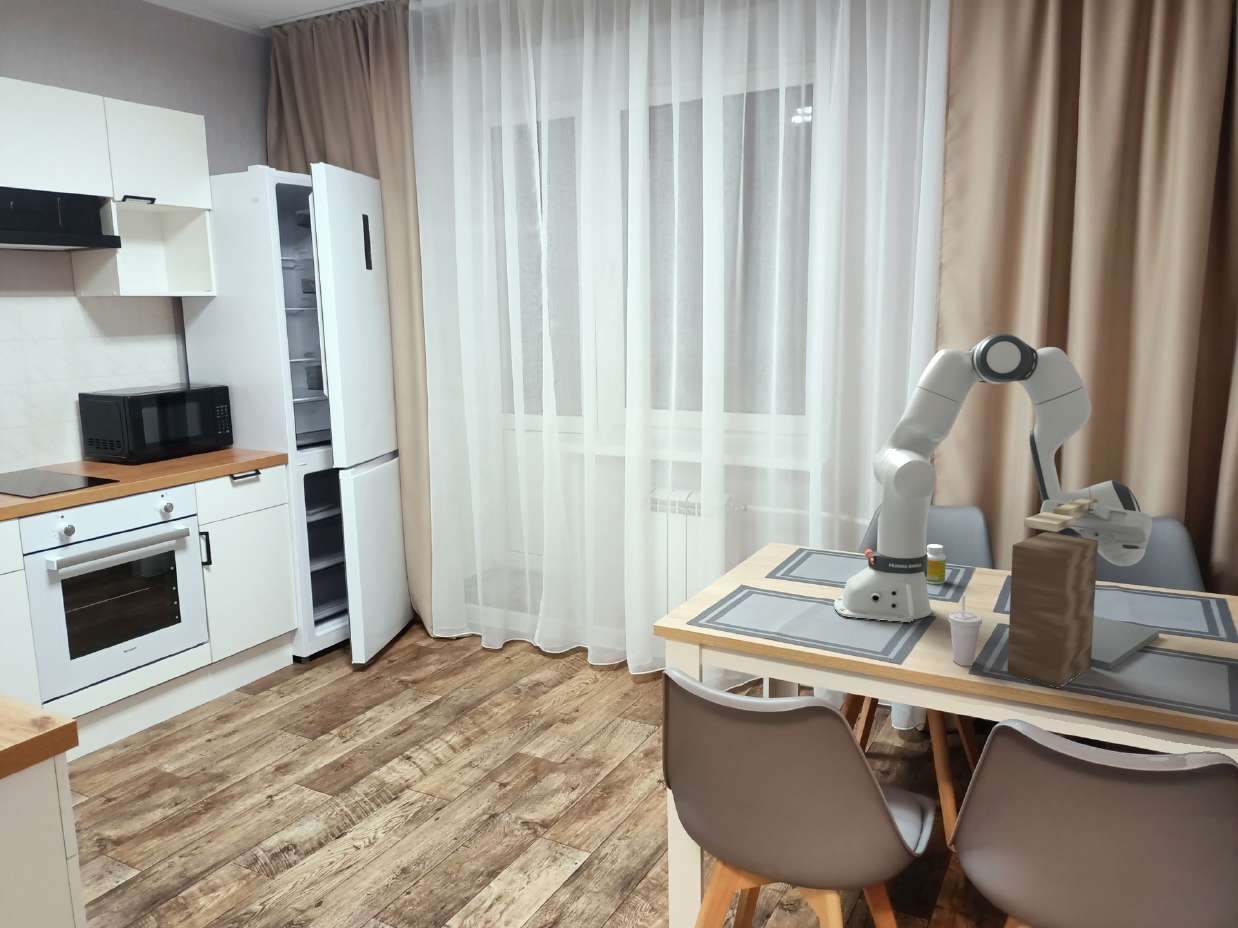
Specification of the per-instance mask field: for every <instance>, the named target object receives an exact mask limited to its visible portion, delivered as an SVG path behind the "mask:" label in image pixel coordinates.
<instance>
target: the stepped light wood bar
mask: <svg viewBox="0 0 1238 928" xmlns="http://www.w3.org/2000/svg"><path fill="white" fill-rule="evenodd" d="M1098 499H1099V498H1092V497H1084V498H1081V499H1079V500H1076V501H1073V502H1070V503H1068V504H1065V505H1062V506H1060V507H1057V508H1054V509H1053V513H1047V512H1042V513H1038V514H1037V513H1036V514H1034V515H1032V516H1030V517H1029V516H1028V517H1026V518H1024V522H1023V523H1024V524H1023V526H1024V528H1030V529H1036V530H1042V531H1047V532H1049V531H1054V532H1058V531H1060V530H1062V529H1065V528H1067V527H1070V526H1072V525H1075V520H1076V518H1079V517H1081V516H1084V515H1087V514H1089V513H1090V512H1089V511H1088V507H1089V503H1090V502H1091V503H1098Z"/></svg>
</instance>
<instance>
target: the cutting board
mask: <svg viewBox="0 0 1238 928" xmlns="http://www.w3.org/2000/svg"><path fill="white" fill-rule="evenodd" d="M1159 637H1160V630H1159V629H1156V628H1150V627H1146V626H1144V625H1143V626H1141V625H1137V624H1133V623H1127V622H1124V621H1120V620H1115V619H1110V618H1105V617H1101V616H1096V615H1094V619H1093V636H1092V653H1091V665H1093V666H1092V667H1096V668H1099V667H1100V668H1099V669H1104V670H1107V669H1109V670H1108V671H1111V670H1112V669H1114V668H1115V667H1116V666H1119V664H1121V663H1122V662H1124V661H1126V660H1127V659H1129V658H1130V657H1132V656H1134V654H1135V653H1137V652H1139V651H1140V650H1142V649H1143V648H1144V647H1146V646H1148V645H1149V644H1150V643H1152V642H1153V641H1155V640H1156V639H1158V638H1159ZM1113 667H1114V668H1113ZM1110 669H1111V670H1110Z"/></svg>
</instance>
